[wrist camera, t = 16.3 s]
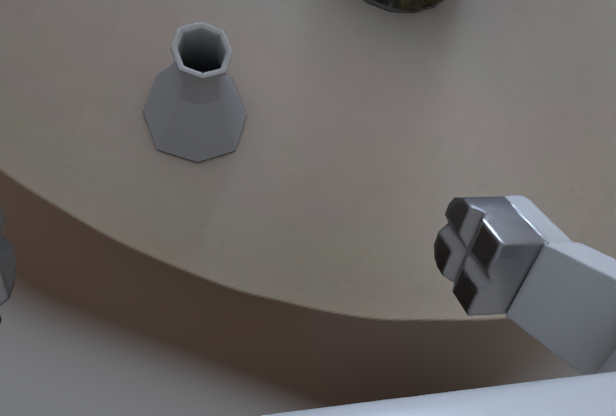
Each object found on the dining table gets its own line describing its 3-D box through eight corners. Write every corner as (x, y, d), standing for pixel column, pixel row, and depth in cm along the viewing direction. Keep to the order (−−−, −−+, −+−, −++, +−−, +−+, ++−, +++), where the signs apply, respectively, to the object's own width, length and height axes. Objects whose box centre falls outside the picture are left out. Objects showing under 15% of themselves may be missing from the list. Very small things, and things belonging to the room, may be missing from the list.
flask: (143, 64, 35) (129, -22, 25) (244, 70, 36) (267, -7, 27) (143, 162, 33) (129, 112, 24) (247, 163, 35) (272, 117, 26)
